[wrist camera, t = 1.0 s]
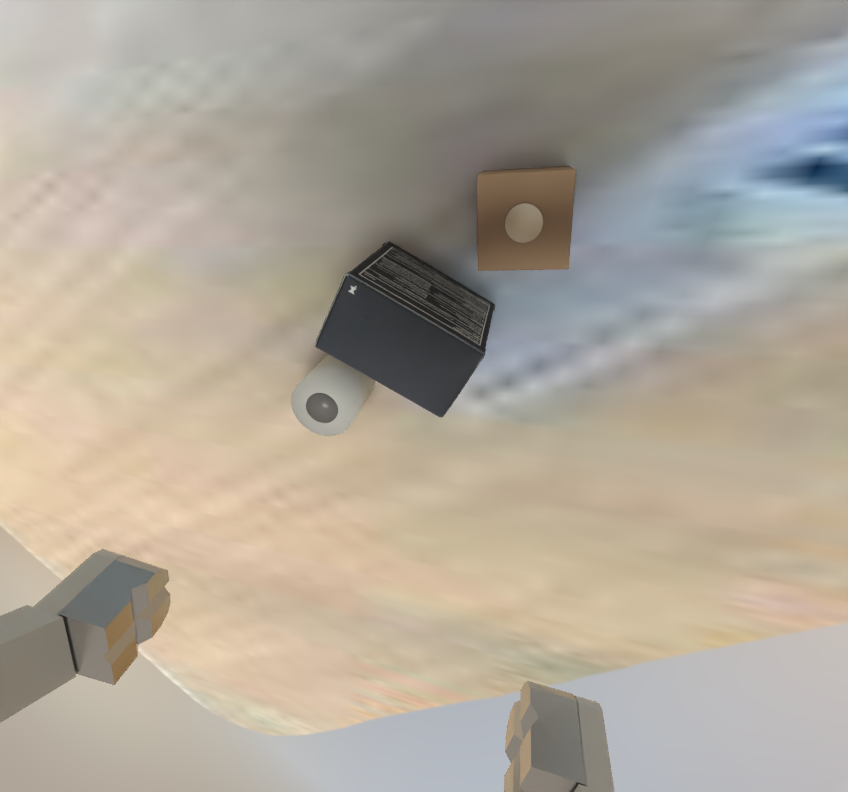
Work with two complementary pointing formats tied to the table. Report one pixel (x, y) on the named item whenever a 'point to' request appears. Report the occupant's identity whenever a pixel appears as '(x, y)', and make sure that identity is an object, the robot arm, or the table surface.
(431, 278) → the small box
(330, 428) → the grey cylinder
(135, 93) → the table surface
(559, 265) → the walnut cube
